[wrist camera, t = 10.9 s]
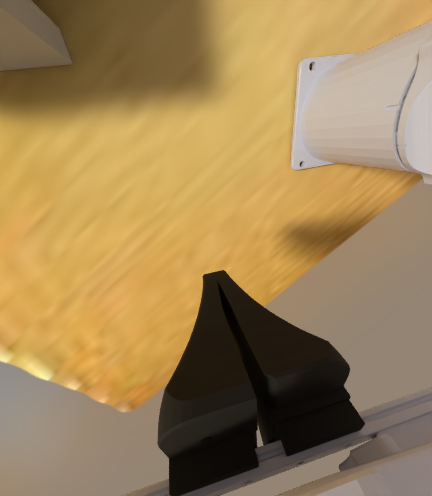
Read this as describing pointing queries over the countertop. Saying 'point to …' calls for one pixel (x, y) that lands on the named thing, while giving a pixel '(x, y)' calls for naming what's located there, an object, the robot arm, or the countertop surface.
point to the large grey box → (29, 37)
